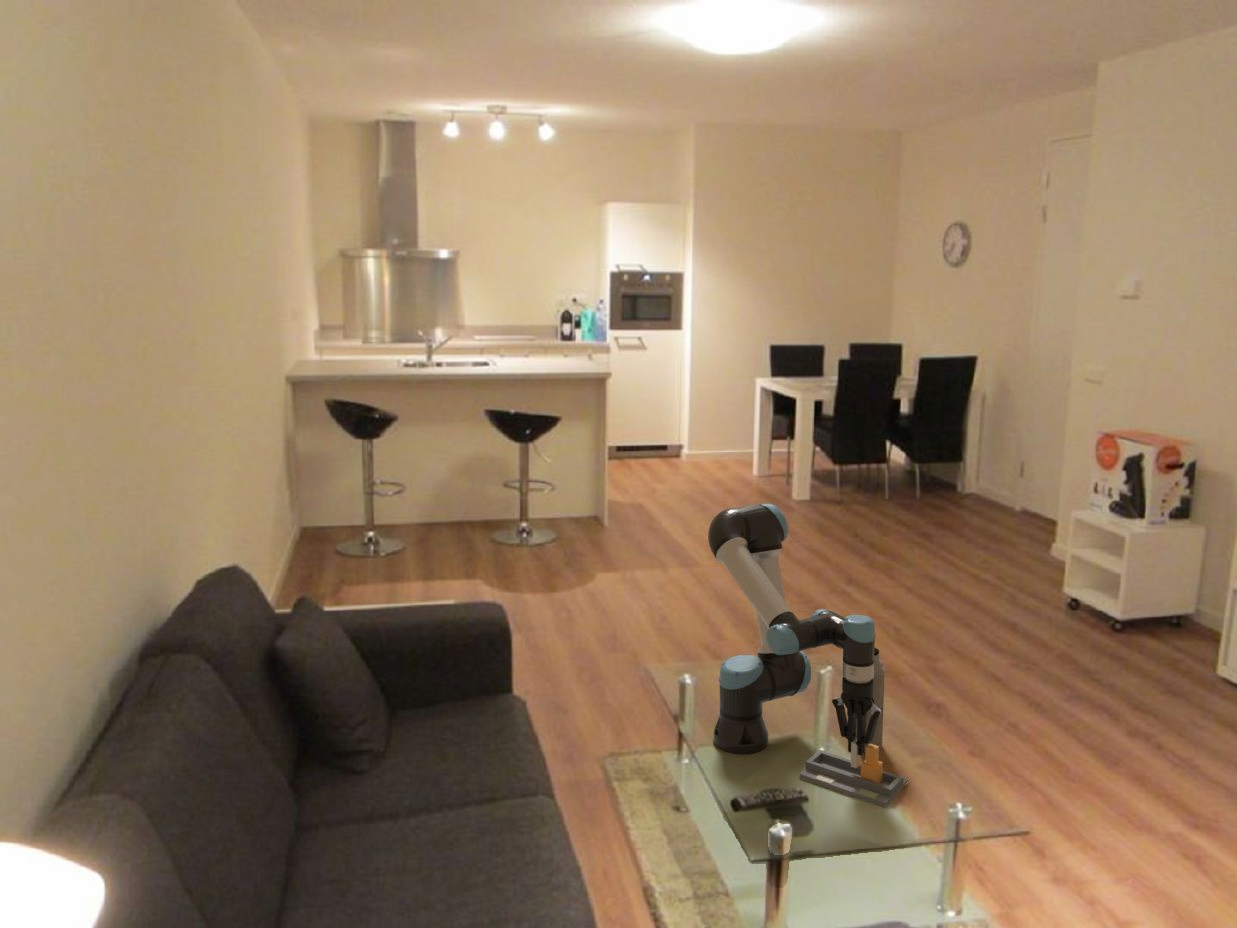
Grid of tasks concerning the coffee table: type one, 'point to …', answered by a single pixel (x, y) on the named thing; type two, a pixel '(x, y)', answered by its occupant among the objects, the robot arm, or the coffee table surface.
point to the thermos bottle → (876, 700)
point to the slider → (872, 765)
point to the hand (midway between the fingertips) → (855, 764)
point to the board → (851, 779)
